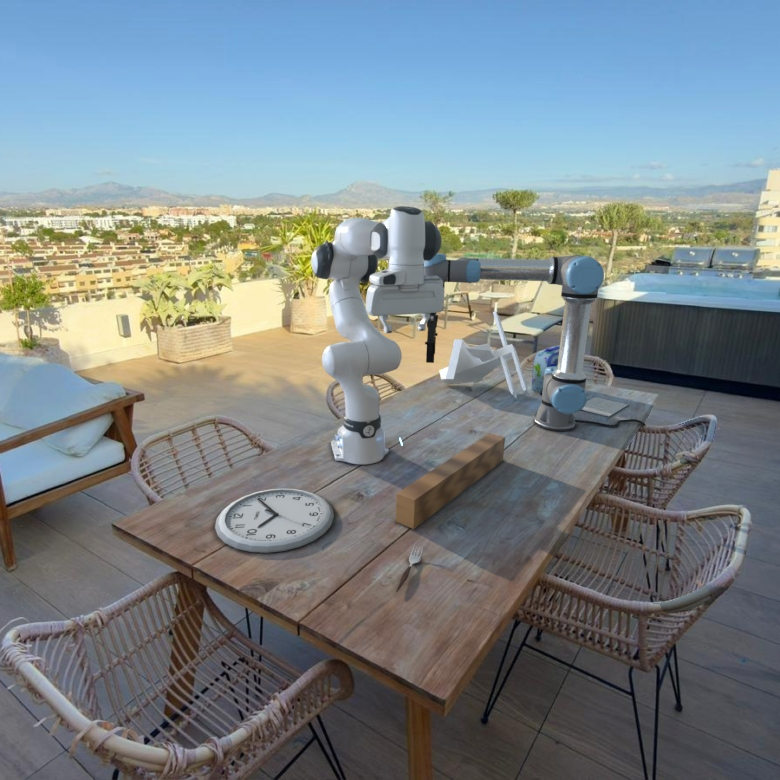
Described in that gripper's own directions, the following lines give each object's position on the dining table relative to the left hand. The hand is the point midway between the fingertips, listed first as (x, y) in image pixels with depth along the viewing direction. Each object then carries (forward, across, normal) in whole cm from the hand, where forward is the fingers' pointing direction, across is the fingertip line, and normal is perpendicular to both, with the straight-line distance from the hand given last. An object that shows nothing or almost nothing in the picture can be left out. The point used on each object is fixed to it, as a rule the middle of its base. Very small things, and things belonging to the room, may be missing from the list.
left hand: (404, 331), depth 133 cm
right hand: (+20, -32, -44) cm, 58 cm away
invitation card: (+48, -114, -40) cm, 130 cm away
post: (+48, -18, 0) cm, 51 cm away
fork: (+48, +12, +30) cm, 58 cm away
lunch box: (+48, -110, -67) cm, 137 cm away
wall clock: (+48, +34, -3) cm, 59 cm away
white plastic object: (+48, -76, -77) cm, 118 cm away
